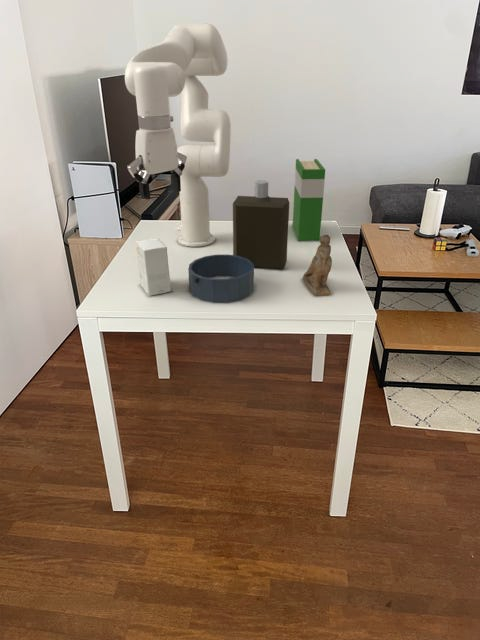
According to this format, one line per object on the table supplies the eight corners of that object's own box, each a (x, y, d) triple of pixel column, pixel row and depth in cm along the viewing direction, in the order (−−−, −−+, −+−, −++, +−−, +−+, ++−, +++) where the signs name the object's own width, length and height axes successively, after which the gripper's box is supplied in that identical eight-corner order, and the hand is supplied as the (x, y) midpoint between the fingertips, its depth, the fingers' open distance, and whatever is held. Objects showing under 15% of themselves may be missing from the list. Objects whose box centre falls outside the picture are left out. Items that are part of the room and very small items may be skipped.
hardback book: (292, 224, 180) (295, 159, 168) (312, 224, 180) (316, 159, 168) (298, 241, 164) (302, 169, 152) (319, 240, 164) (325, 169, 152)
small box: (171, 291, 130) (167, 246, 123) (148, 296, 127) (143, 250, 121) (162, 280, 136) (158, 237, 130) (140, 285, 134) (135, 241, 127)
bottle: (284, 270, 142) (288, 186, 130) (232, 267, 144) (231, 184, 132) (287, 260, 149) (291, 179, 136) (236, 257, 151) (236, 177, 139)
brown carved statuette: (329, 302, 129) (341, 246, 117) (309, 303, 129) (319, 246, 117) (319, 276, 138) (329, 221, 126) (301, 277, 137) (309, 222, 125)
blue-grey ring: (174, 289, 131) (172, 267, 128) (225, 269, 143) (225, 248, 140) (217, 310, 120) (216, 287, 117) (269, 286, 132) (269, 265, 129)
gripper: (173, 118, 121) (178, 185, 130) (114, 125, 111) (124, 198, 119) (192, 120, 116) (196, 190, 125) (132, 129, 106) (141, 204, 115)
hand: (161, 194), depth 122 cm, fingers open, 9 cm apart
